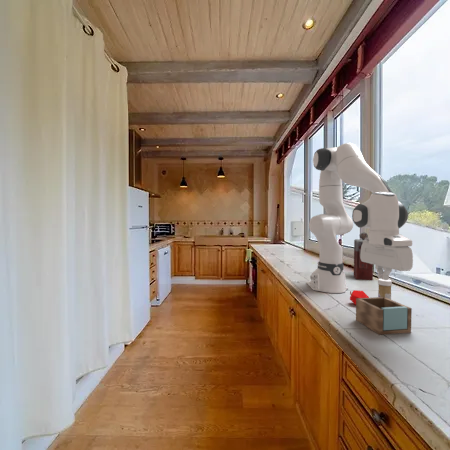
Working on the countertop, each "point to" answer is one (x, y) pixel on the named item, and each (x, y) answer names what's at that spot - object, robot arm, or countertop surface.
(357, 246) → the toy vending machine
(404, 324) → the panel
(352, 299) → the apple
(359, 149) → the robot arm
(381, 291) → the sprinkles bottle
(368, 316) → the crate
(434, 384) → the countertop surface
